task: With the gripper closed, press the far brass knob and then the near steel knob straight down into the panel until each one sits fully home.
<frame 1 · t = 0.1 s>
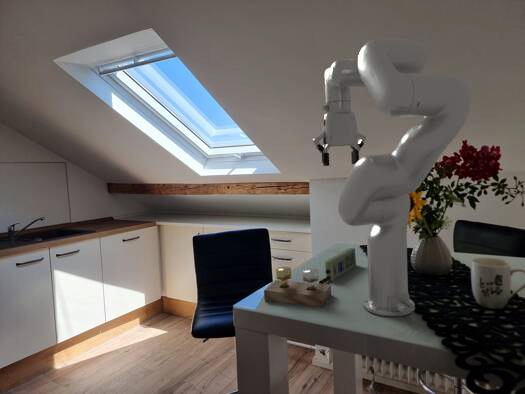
hand: (340, 164, 114), 37 cm above the table, tool pointing down, fingers open, 9 cm apart
panel: (298, 297, 105), on the table
handheld radio: (338, 276, 123), on the table
brass knob: (283, 278, 106), point 5 cm above the table, slide at 0.0 cm
steel knob: (310, 280, 103), point 5 cm above the table, slide at 0.0 cm
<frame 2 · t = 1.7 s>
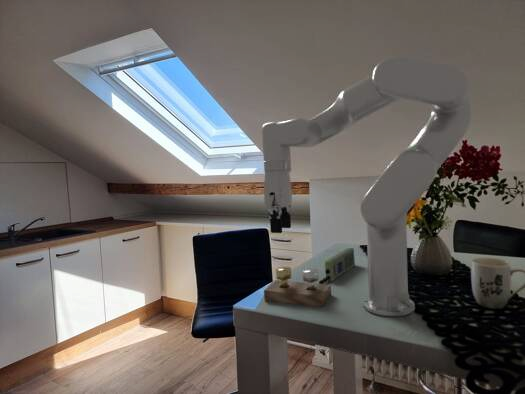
hand: (281, 229, 105), 20 cm above the table, tool pointing down, fingers open, 6 cm apart
nothing on the table moved.
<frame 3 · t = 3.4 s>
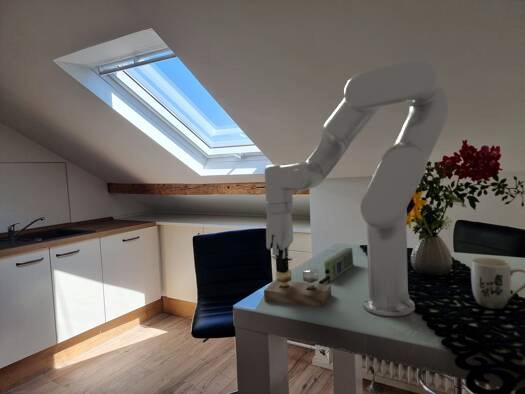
hand: (282, 270, 106), 8 cm above the table, tool pointing down, fingers closed
brass knob: (284, 280, 106), point 5 cm above the table, slide at 0.7 cm, touching gripper
everything else where it was.
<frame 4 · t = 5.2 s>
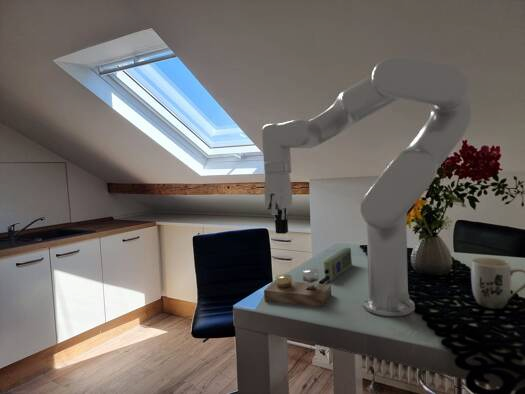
hand: (282, 232, 105), 19 cm above the table, tool pointing down, fingers closed
brass knob: (284, 285, 106), point 3 cm above the table, slide at 2.3 cm
everything else where it was.
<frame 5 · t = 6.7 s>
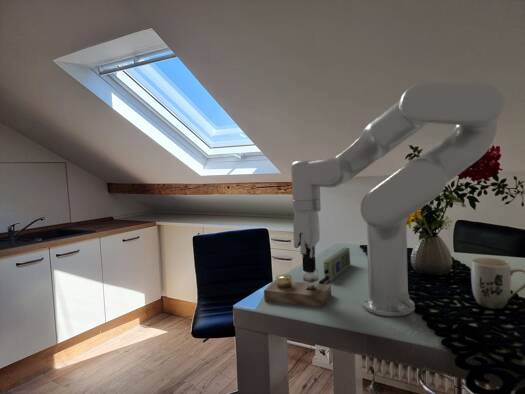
hand: (309, 270, 103), 8 cm above the table, tool pointing down, fingers closed
steel knob: (310, 280, 103), point 5 cm above the table, slide at 0.0 cm, touching gripper
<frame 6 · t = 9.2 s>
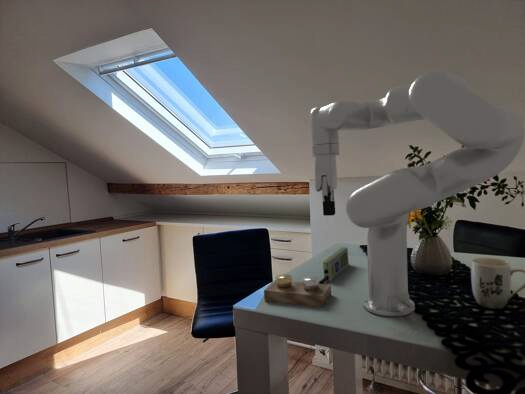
hand: (329, 214, 106), 23 cm above the table, tool pointing down, fingers closed
steel knob: (311, 288, 103), point 3 cm above the table, slide at 2.3 cm
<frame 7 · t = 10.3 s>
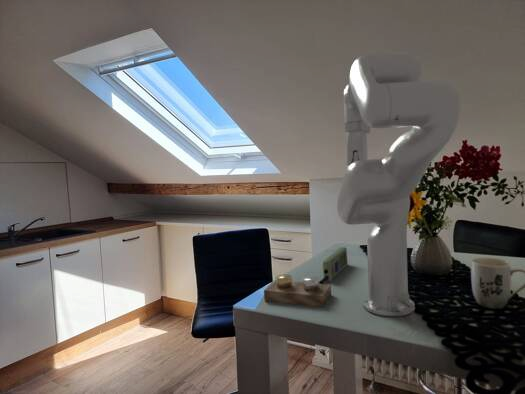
hand: (359, 188, 114), 29 cm above the table, tool pointing down, fingers closed
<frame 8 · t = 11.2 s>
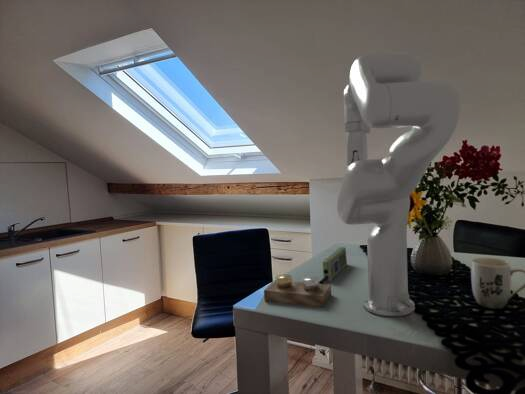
hand: (359, 188, 114), 29 cm above the table, tool pointing down, fingers closed
at the end: brass knob slide at 2.3 cm; steel knob slide at 2.3 cm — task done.
